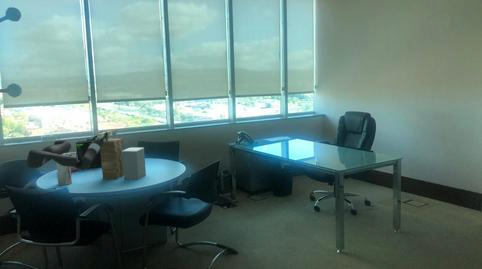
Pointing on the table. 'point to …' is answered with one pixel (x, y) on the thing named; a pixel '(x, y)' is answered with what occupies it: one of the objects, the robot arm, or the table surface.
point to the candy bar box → (73, 156)
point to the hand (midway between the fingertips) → (104, 132)
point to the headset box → (81, 150)
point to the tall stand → (112, 159)
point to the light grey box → (133, 163)
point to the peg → (110, 133)
